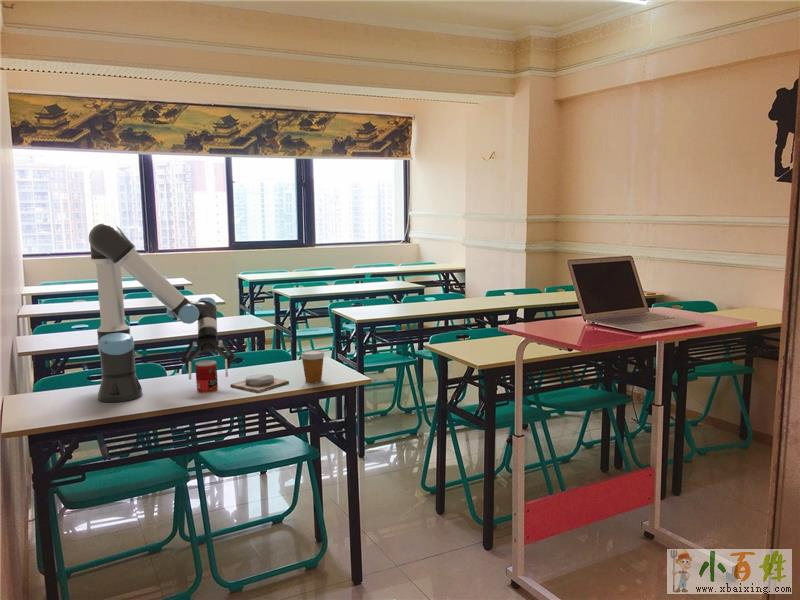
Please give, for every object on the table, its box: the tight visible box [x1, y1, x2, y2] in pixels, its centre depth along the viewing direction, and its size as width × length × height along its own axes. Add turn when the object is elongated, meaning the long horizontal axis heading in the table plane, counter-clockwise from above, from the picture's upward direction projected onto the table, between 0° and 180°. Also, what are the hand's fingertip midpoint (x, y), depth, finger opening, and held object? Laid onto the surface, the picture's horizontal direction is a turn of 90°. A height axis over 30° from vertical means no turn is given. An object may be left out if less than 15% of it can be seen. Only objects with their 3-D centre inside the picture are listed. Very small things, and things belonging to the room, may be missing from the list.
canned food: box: [194, 359, 219, 393], centre depth 242 cm, size 8×8×11 cm
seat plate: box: [230, 373, 290, 393], centre depth 249 cm, size 16×16×3 cm
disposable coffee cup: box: [300, 349, 325, 384], centre depth 253 cm, size 10×10×12 cm
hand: (208, 376), depth 242 cm, fingers open, 13 cm apart
